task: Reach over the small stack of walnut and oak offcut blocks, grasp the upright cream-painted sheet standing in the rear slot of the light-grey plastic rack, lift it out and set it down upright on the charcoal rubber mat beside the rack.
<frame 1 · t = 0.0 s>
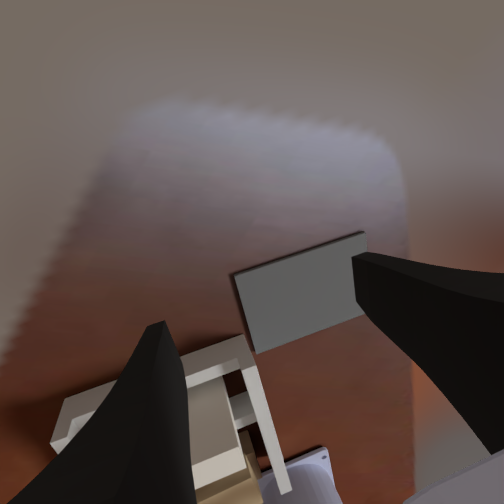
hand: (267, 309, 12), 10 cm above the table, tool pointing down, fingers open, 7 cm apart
rack: (187, 429, 26), on the table
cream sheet: (171, 393, 25), resting in rack
offcut low: (202, 458, 29), on the table
offcut top: (210, 484, 27), point 2 cm above the table
mat: (307, 293, 25), on the table
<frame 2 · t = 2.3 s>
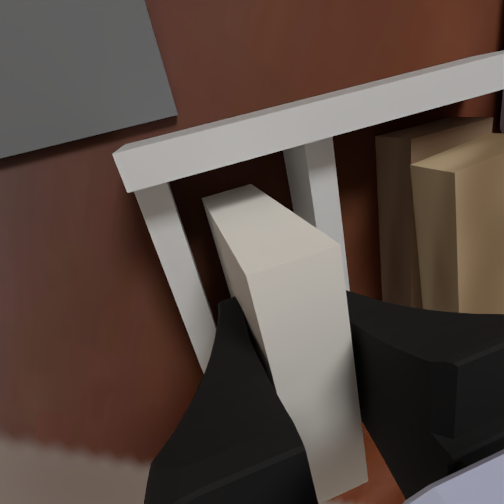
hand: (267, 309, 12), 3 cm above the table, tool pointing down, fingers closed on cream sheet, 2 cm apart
rack: (332, 251, 15), on the table
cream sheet: (249, 278, 14), resting in rack, touching gripper
offcut low: (406, 223, 16), on the table, touching offcut top
offcut top: (453, 232, 14), point 2 cm above the table, touching offcut low
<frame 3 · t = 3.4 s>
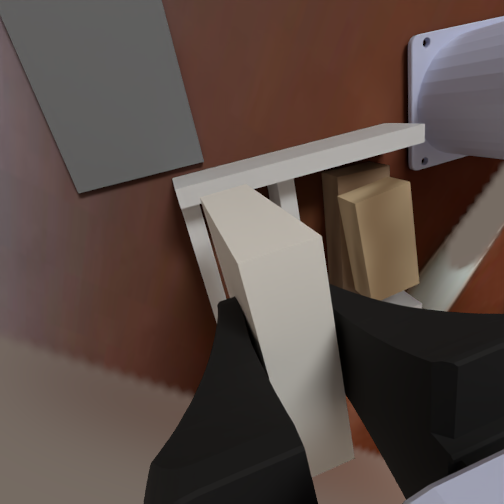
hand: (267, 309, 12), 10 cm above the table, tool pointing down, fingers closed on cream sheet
rack: (299, 244, 23), on the table
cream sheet: (245, 273, 15), point 6 cm above the table, touching gripper
offcut low: (345, 228, 24), on the table, touching offcut top
offcut top: (370, 236, 22), point 2 cm above the table, touching offcut low
mat: (109, 78, 16), on the table
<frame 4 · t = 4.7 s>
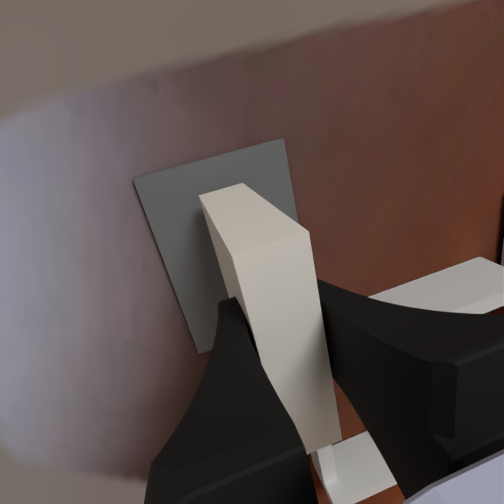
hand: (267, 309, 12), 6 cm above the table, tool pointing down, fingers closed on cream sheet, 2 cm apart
rack: (390, 367, 23), on the table
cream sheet: (242, 268, 16), point 1 cm above the table, touching gripper
mat: (236, 254, 17), on the table
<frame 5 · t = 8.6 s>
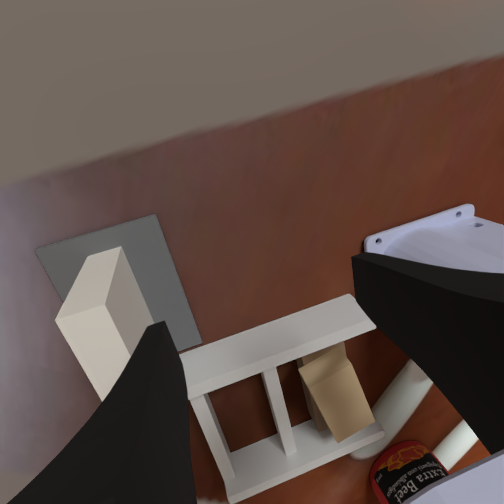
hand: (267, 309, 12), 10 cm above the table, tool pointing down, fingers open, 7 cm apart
rack: (282, 383, 28), on the table
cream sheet: (129, 305, 21), resting on mat
offcut low: (317, 366, 29), on the table, touching offcut top
canned food: (396, 462, 37), on the table
offcut top: (331, 386, 27), point 2 cm above the table, touching offcut low
mat: (129, 299, 22), on the table
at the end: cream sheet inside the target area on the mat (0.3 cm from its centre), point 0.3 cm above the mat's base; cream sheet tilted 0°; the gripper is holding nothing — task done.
